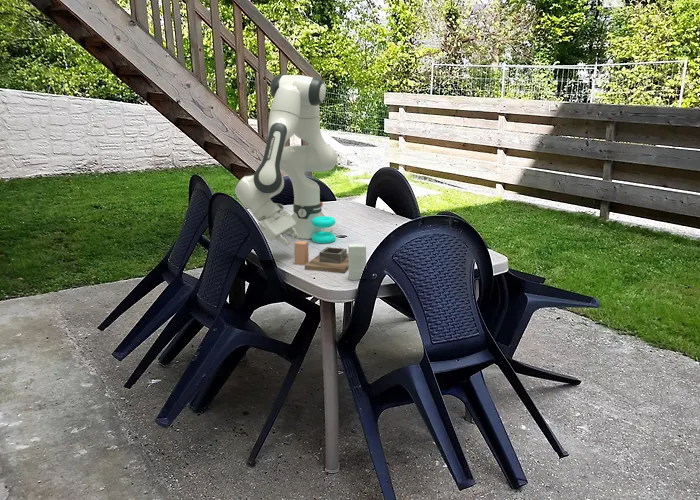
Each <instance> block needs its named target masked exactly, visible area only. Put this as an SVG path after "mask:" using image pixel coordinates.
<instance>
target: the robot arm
mask: <svg viewBox="0 0 700 500" xmlns="http://www.w3.org/2000/svg"><path fill="white" fill-rule="evenodd" d="M270 81H271V82H270V86H269V91H270V96H271V98H272V102H271V106H270V110H269V114H268V115H269V116H268V125H267V127H268V128H267V132H268V133H267V140H266V144H265V150H264V153H263V154H264V155H263V158H262V161H261V163H260V164H259V166H258V167H257V168H256V170H255V172H254V174H252V175H244V176H243V177H242V178H240V179H239V180H238V182H237V183H236V185H235V187H234V194H235V196H236V197H237V199H238V200H239V201H240V203H242V204H243V206H244V208H246V209H247V210H249V211H250V212H251V214H252V216H253V217H254V218H255V219H256V220H257V224H258V227H259V229H260V230H261V232H262V234H263V235H264V236H265V237H266V238H267V239H268V240H269V241H273V240H277V241H278V242H279V243H282V245H283V246H285V247H287V246H288V245H289V244H290V241H289V240H288V238H285V237H283V235H284V234H286V233H287V234H288V235H289V236H291V237H292V239H294V241H296V240H298V239H303V240H305V239H306V240H308V239H311V240H312V235H313V234H314V233H317V232H322V231H326V232H331V233H332V231H333V226H331V227H328V228H319V227H315V226H314V225H313V224H312V219H313V218H315V217H319V216H326V215H325V214H324V213H323V212H322V210H323V209H322V207H323V205H324V204H323V201H321V200H320V199H321V196H320V195H321V190H320V188H321V187H320V185H319V184H318V182H316V181H315V180H313V179H311V178H308V177H307V176H306V175H305V173H307V172H310V173H311V172H314V173H315V172H317V173H318V172H327V171H331V170H334V168H335V166H336V165H337V160H338V156H337V153H336V151H335V149H334V148H333V147H332V146H330V145H329V144H328V143H327V142H326V141H325V140H324V138H323V135H322V133H321V123H320V122H321V120H320V119H321V118H320V105H321V104H322V103H323V102H324V101H325V97H326V94H327V91H326V90H327V87H326V83H325V82H324V81H323V79H321V78H318V77H312V76H307V75H300V74H298V75H297V74H285V73H284V74H282V73H281V74H276V75H275V76H274V77H273V78H272V80H270ZM293 136H296V137H297V138H298V139H300V140H302V141H304V142H305V143H307V145H288V146H287V145H286V143H287V141H288V140H289V139H291V138H292V137H293ZM285 145H286V146H285ZM281 171H282V172H283V173H285V174H286V176H287V177H288V178H289V179H290V182H291V184H292V188H293V189H292V190H293V197H294V198H293V204H292V205H293V206H292V208H293V211H292V212H293V213H292V214H290V213H289V212H288V211H287V210H286V209H285V206H284V205H283V204H281V203H277V202H276V203H275V202H273V200H272V198H273V197H275V196H277V195H278V194H280V193H281V192H282V191H283V189H284V187H285V179H284V177H283V175H282V173H281Z"/></svg>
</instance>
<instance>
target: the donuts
mask: <svg viewBox="0 0 700 500" xmlns="http://www.w3.org/2000/svg"><path fill="white" fill-rule="evenodd" d="M312 224H313V225H314V226H315V227H319V228H328V227H333V226H334V225H335V224H336V218H334V217H332V216H327V215H325V216H319V217H315V218H313V219H312ZM311 240H312V241H313V242H314V243H316V244H331V243H333V242H335V240H336V235H335V234H334V233H333V232H332V231H331V232H326V231H322V232H317V233H314V234H313V235H312V239H311Z"/></svg>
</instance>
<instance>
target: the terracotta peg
mask: <svg viewBox="0 0 700 500" xmlns="http://www.w3.org/2000/svg"><path fill="white" fill-rule="evenodd" d="M293 247H294V265H300V266H302V265H303V266H305V265H306V264H307V263H308V262H310V261H309V241H304V240H297V241H296V242H294V245H293Z"/></svg>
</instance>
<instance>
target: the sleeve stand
mask: <svg viewBox="0 0 700 500" xmlns="http://www.w3.org/2000/svg"><path fill="white" fill-rule="evenodd" d="M347 251H348V249H347V248H342V247H341V248H339V247H331V246H330V247H329V246H327V247H324V249H322V250H321V251H320V252H319V254H318V255H316V256H314V257H313V258H312V259H311V260H310V261H309V262H308V263H307V264H305V265H304V270H308V271H309V270H310V271H320V272H327V271H328V273H337V272H338V273H339V274H345V273H346V272H347V271H349V257H348V253H347Z"/></svg>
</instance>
